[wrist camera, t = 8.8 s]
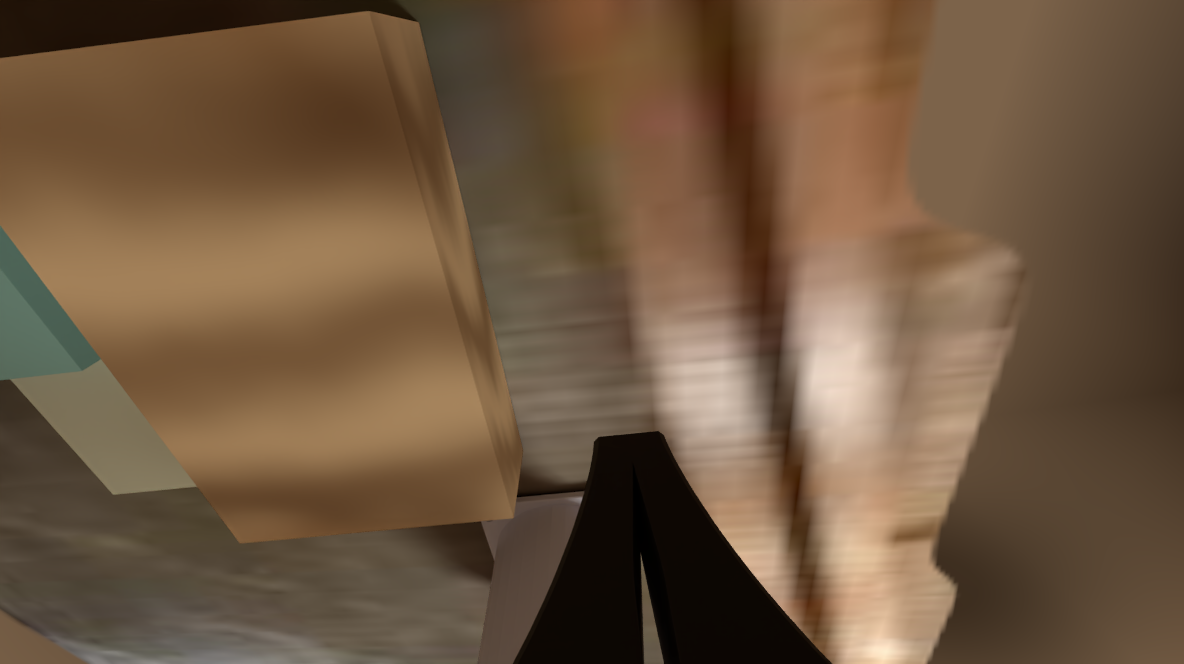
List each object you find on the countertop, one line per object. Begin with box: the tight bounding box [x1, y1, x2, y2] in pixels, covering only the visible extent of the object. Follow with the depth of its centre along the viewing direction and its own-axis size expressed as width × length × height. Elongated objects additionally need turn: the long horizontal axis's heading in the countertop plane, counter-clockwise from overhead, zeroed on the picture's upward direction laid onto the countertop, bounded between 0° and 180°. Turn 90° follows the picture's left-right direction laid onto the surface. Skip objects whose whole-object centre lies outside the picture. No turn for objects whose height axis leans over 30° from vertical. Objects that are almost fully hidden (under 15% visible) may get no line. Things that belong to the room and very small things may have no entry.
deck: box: [0, 11, 523, 543], centre depth 18 cm, size 18×12×4 cm, turn 6°
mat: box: [10, 360, 197, 495], centre depth 19 cm, size 18×8×1 cm, turn 6°
